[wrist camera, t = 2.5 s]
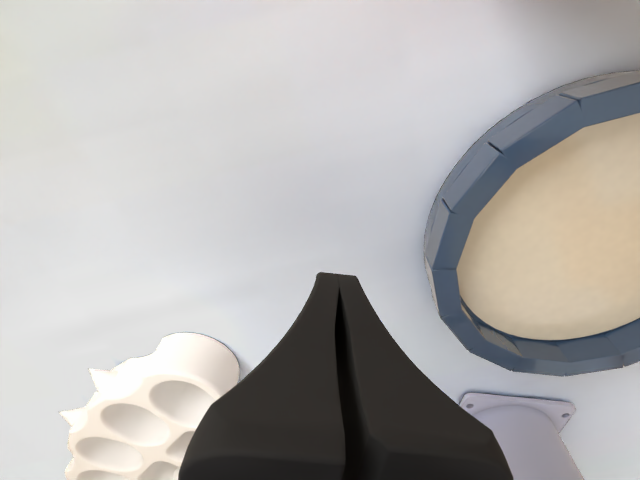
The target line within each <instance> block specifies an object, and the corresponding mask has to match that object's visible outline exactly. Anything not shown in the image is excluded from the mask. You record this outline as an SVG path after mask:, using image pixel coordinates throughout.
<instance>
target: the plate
mask: <svg viewBox="0 0 640 480" xmlns="http://www.w3.org/2000/svg"><path fill="white" fill-rule="evenodd" d="M424 261H425V269H426V272H427V276H428V280H429V283H430V286H431V291H432V297H433V300H434V303H435V305H436V308H437V311H438V314H439V316H440V318H441V319H442V320H443V322H444V323H445V324H446V325H447V326H448V328H449V329H450V330H451V331H452V332H453V334H454V335H455V336H456V337H457V338H458V340H459V341H460V342H461V343H462V344H463V346H464V347H465V348H466V349H467V350H469V352H471V353H473V354H475V355H477V356H479V357H482V358H484V359H486V360H488V361H490V362H493V363H495V364H497V365H499V366H501V367H503V368H506V369H508V370H510V371H511V370H512V371H514V372H524V373H533V374H543V375H553V376H564V375H565V376H571V375H578V374H584V373H591V372H597V371H604V370H610V369H617V368H623V365H624V366H625V367H626V366H629V365H631V364H634V363H636V362H639V361H640V70H636V71H625V72H614V73H608V74H603V75H599V76H594V77H590V78H585V79H582V80H579V81H576V82H573V83H570V84H568V85H565V86H562V87H559V88H557V89H555V90H552V91H550V92H548V93H546V94H544V95H542V96H540V97H538V98H535V99H534V100H532V101H530V102H529V103H527V104H525V105H524V106H522V107H520V108H519V109H517V110H515V111H514V112H512V113H510V114H509V115H508V116H507V117H505V118H504V119H503V120H501V121H500V122H499V123H497V124H496V125H495V126H493V127H492V128H491V129H489V130H488V131H487V132H486V133H485V134H484V135H483V136H482V137H481V138H480V139H479V140H478V141H477V142H476V143H475V144H474V145H472V146H471V148H470V149H469V150H468V151H467V152H466V153H465V155H464V156H463V157H462V158H461V159H460V160H459V162H458V163H457V164H456V165H455V167H454V168H453V170H452V171H451V173H450V174H449V176H448V177H447V179H446V180H445V182H444V184H443V185H442V187H441V189H440V191H439V193H438V195H437V197H436V199H435V201H434V204H433V207H432V209H431V212H430V215H429V218H428V222H427V227H426V231H425V237H424Z"/></svg>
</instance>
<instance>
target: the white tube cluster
mask: <svg viewBox="0 0 640 480" xmlns="http://www.w3.org/2000/svg"><path fill="white" fill-rule="evenodd" d="M88 370H89V372H90V375H91V377H92V379H93V382H94V384H95V386H96V388H97V391H96V392H95V393H94V394H93V396H92V397H91V399H90V400H89V402H88V403H87V405H86V406H85V407H82V408H77V409H72V410H66V411H61V412H59V413H60V415H61V416H62V417H63V418H64V419H65V420H66V421H67V422H68V424H69V425H70V426H71V427H72V428H71V429H70V431H69V439H68V447H67V448H68V449H69V450H70V452H71V453H72V455H73V458H72V460H71V461H70V463H69V465H68V466H67V468H66V470H65V476H66V478H67V480H178V474H179V470H180V467H181V464H182V461H183V458H184V455H185V453H186V450H187V447H188V445H189V443H190V441H191V438H192V436H193V434H194V432H195V430H196V428H197V427H198V425H199V423H200V421H201V420H202V418H203V416H204V415H205V413H206V412H207V410H208V409H209V407H210V405H211V404H212V403H214V402H215V401H216V400H218V399H219V398H220V397H221V396H223V395H224V394H225V393H227V392H228V391H229V390H231V389H232V388H233V387H234V386H236V385H237V382H238V379H239V365H238V362H237V359H236V358H235V356H234V354H233V353H232V352H231V351H230V350H229V349H228V348H227V347H226V346H225V345H223V344H222V343H220V342H219V341H217V340H215V339H213V338H211V337H208V336H205V335H201V334H197V333H186V332H184V333H174V334H170V335H167V336H165V337H163V339H162V340H161V342H160V344H159V346H158V347H157V349H156V351H155V352H154V353H152V354H150V355H147V356H144V357H137V358H129V359H128V360H126V361H124V362H123V363H121V364H120V365H118V366H116V367H115V368H113V369H112V370H111V371H110V370H99V369H88Z"/></svg>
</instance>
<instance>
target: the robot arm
mask: <svg viewBox="0 0 640 480" xmlns="http://www.w3.org/2000/svg"><path fill="white" fill-rule="evenodd" d="M575 410H576V408H575V406H574V405H573V404H572V403H570V402H562V401H552V400H542V399H532V398H522V397H512V396H502V395H492V394H482V393H467V394H465V395H464V397H463V399H462V401H461V403H460V405H458V404H457V403H455V402H454V401H453V400H452V399H451V398H449V397H448V396H447V395H446V394H445V393H444V392H442V391H441V390H440V389H439V388H438V387H437V386H436V385H435V384H434V383H433V382H432V381H431V380H430V379H429V378H428V377H427V376H426V375H424V374H423V373H422V372H421V371H420V370H419V369H418V368H417V367H416V365H415V364H414V363H413V362H412V361H411V360H410V359H409V358H408V357H407V355H406V354H405V353H404V352H403V351H402V349H401V348H400V347H399V346H398V344H397V343H396V342H395V340H394V339H393V338H392V336H391V335H390V334H389V332H388V331H387V329H386V328H385V326H384V325H383V323H382V322H381V320H380V319H379V317H378V316H377V314H376V312H375V311H374V309H373V307H372V306H371V304H370V302H369V300H368V298H367V297H366V295H365V293H364V291H363V289H362V287H361V285H360V283H359V280H358V278H357V277H356V276H352V275H342V274H333V273H323V272H320V273H318V274H317V276H316V281H315V284H314V287H313V290H312V292H311V294H310V296H309V298H308V300H307V302H306V304H305V306H304V307H303V309H302V311H301V312H300V314H299V316H298V317H297V319H296V320H295V322H294V323H293V325H292V326H291V328H290V329H289V330H288V332H287V333H286V334H285V336H284V337H283V338H282V339H281V341H280V342H279V343H278V344H277V346H276V347H275V348H274V349H273V350H272V351H271V352H270V353H269V355H268V356H267V357H266V358H265V359H264V360H263V361H262V362H261V363H260V364H259V365H258V366H257V367H256V368H255V369H254V370H252V371H251V372H250V373H249V374H248V375H247V376H246V377H245V378H244V379H243V380H242V381H240V382H239V383H238V384H237V385H236V386H234V387H233V388H232V389H231V390H229V391H228V392H227V393H225V394H224V395H223V396H221V397H220V398H219V399H218V400H216V401H215V402H214V403H212V404H211V405H210V407H209V409H208V410H207V412H206V413H205V415H204V416H203V418H202V420H201V421H200V423H199V425H198V427H197V428H196V430H195V432H194V434H193V436H192V438H191V441H190V443H189V445H188V447H187V450H186V453H185V455H184V458H183V461H182V464H181V467H180V470H179V474H178V480H584V478H583V476H582V475H581V473H580V471H579V469H578V467H577V466H576V464H575V462H574V460H573V459H572V457H571V455H570V453H569V451H568V450H567V448H566V446H565V444H564V442H563V441H562V439H561V437H560V435H559V433H560V431H561V430H562V429H563V427H564V426H565V425H566V423H567V422H568V420H569V419H570V418H571V416H572V415H573V414H574V412H575Z"/></svg>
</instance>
